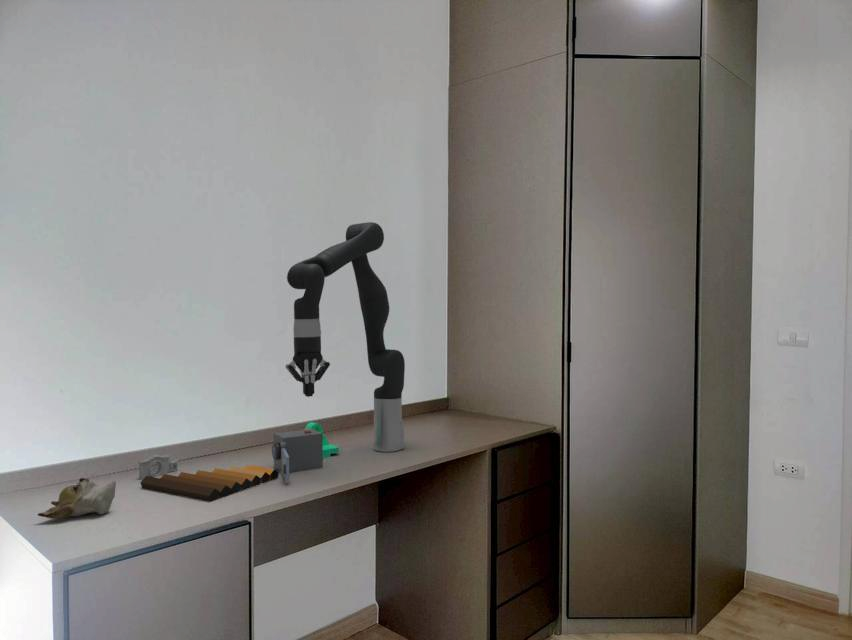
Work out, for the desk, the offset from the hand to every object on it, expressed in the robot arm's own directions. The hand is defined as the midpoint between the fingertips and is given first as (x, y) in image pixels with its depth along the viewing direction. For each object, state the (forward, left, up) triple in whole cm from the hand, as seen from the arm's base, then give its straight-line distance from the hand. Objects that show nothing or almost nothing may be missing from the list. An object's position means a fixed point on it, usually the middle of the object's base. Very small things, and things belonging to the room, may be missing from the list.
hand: (308, 396), depth 180 cm
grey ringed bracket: (+36, -23, -23) cm, 48 cm away
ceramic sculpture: (+57, +4, -23) cm, 62 cm away
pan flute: (+25, -6, -23) cm, 35 cm away
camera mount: (-11, -19, -23) cm, 32 cm away
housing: (0, -8, -22) cm, 24 cm away
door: (+8, +2, -22) cm, 23 cm away
